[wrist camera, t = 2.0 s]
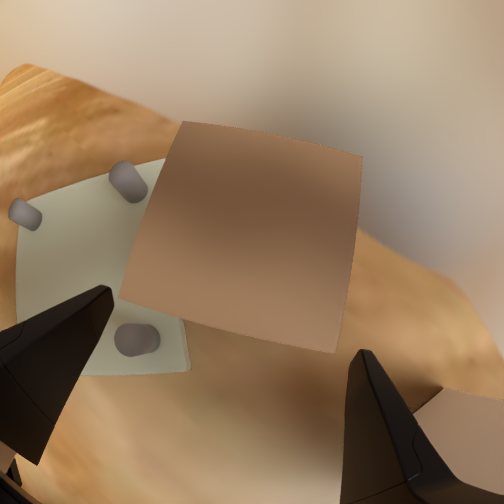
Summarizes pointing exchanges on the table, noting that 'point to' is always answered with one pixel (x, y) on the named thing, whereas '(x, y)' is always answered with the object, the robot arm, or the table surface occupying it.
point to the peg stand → (96, 266)
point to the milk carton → (467, 436)
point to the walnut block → (249, 236)
